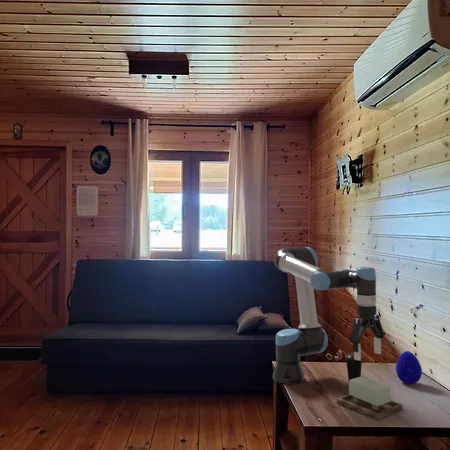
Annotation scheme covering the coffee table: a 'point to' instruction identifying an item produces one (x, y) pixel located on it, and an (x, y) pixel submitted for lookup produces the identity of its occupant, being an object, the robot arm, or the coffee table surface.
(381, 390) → the grey boxy block
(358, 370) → the drinking cup
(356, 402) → the peg frame
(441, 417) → the coffee table surface
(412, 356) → the ornament
